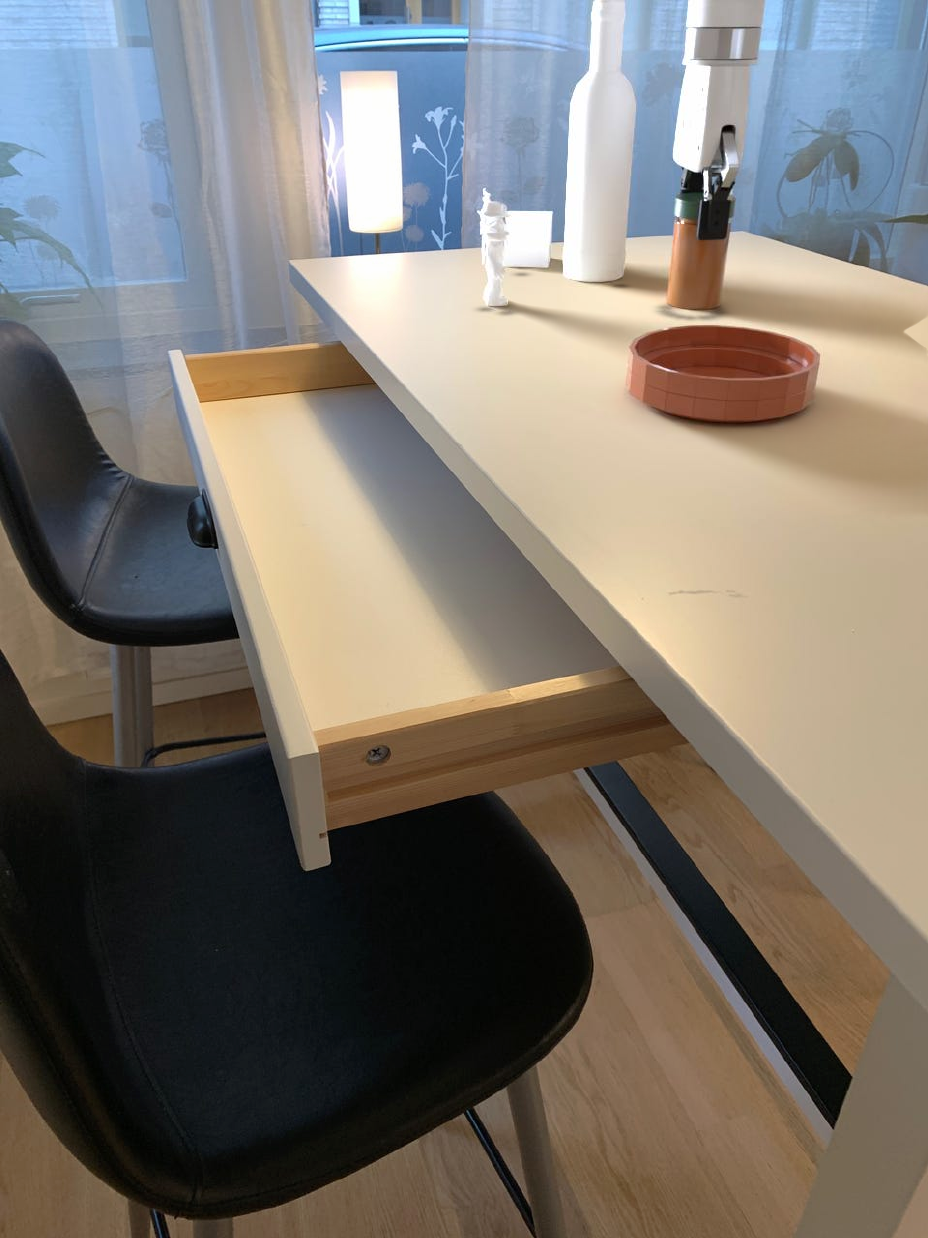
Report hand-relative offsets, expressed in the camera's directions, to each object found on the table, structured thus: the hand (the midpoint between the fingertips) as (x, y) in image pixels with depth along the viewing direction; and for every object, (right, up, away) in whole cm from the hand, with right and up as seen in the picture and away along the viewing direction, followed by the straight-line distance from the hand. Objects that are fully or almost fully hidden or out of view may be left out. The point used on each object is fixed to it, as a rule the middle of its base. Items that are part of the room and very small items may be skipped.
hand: (700, 231), depth 110 cm
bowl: (-4, -24, -23) cm, 33 cm away
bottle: (-10, +1, +16) cm, 19 cm away
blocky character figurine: (-23, -6, +5) cm, 24 cm away
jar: (0, -7, +4) cm, 8 cm away
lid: (0, +3, -2) cm, 3 cm away
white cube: (-18, +5, +23) cm, 30 cm away
